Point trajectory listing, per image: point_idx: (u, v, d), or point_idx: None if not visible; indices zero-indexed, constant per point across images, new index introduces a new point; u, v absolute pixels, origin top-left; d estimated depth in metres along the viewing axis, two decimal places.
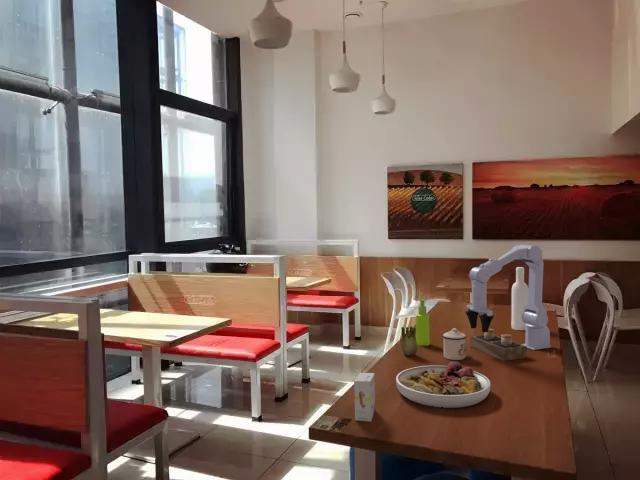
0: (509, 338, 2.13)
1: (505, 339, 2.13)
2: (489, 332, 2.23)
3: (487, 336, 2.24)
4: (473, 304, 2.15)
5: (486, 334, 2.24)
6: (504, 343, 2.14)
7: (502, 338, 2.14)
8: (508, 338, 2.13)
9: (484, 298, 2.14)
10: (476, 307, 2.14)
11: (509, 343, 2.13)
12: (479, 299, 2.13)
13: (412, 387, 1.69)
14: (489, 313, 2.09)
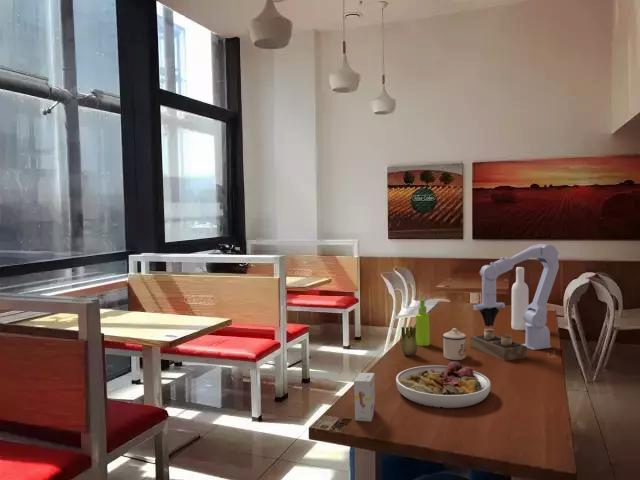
0: (509, 338, 2.13)
1: (505, 339, 2.13)
2: (489, 332, 2.23)
3: (487, 336, 2.24)
4: None
5: (486, 334, 2.24)
6: (504, 343, 2.14)
7: (502, 338, 2.14)
8: (508, 338, 2.13)
9: (484, 294, 2.23)
10: None
11: (509, 343, 2.13)
12: (482, 294, 2.25)
13: (412, 387, 1.69)
14: (473, 307, 2.23)
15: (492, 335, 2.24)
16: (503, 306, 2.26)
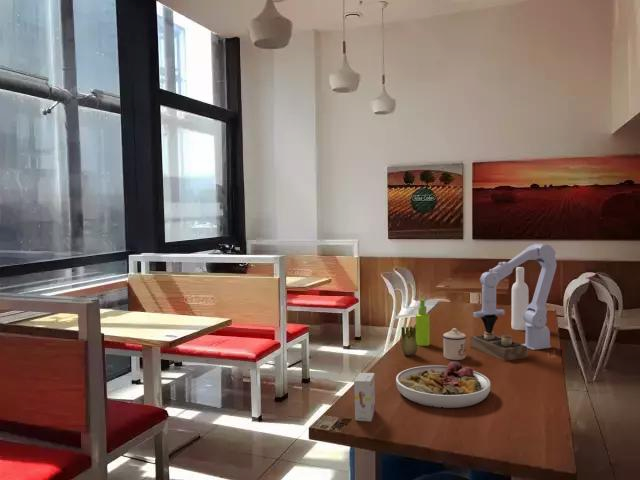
0: (509, 338, 2.13)
1: (505, 339, 2.13)
2: (489, 335, 2.23)
3: None
4: None
5: (486, 337, 2.24)
6: (504, 343, 2.14)
7: (502, 338, 2.14)
8: (508, 338, 2.13)
9: (484, 301, 2.23)
10: None
11: (509, 343, 2.13)
12: (482, 301, 2.25)
13: (412, 387, 1.69)
14: (473, 314, 2.23)
15: None
16: (503, 313, 2.26)
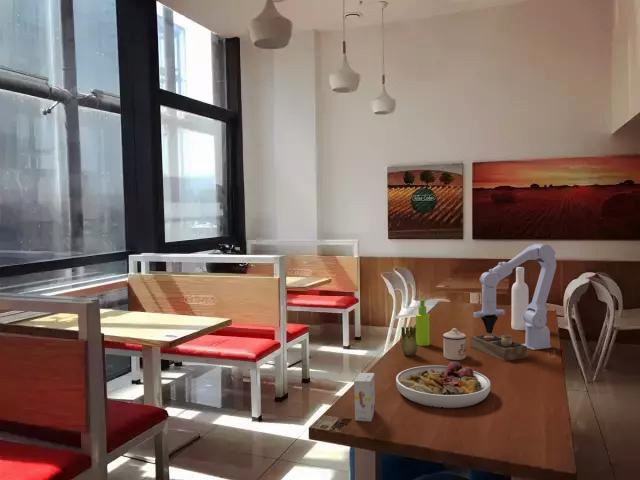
0: (509, 338, 2.13)
1: (505, 339, 2.13)
2: None
3: None
4: None
5: None
6: (504, 343, 2.14)
7: (502, 338, 2.14)
8: (508, 338, 2.13)
9: (484, 302, 2.23)
10: None
11: (509, 343, 2.13)
12: (482, 301, 2.25)
13: (412, 387, 1.69)
14: (473, 314, 2.23)
15: None
16: (503, 313, 2.26)
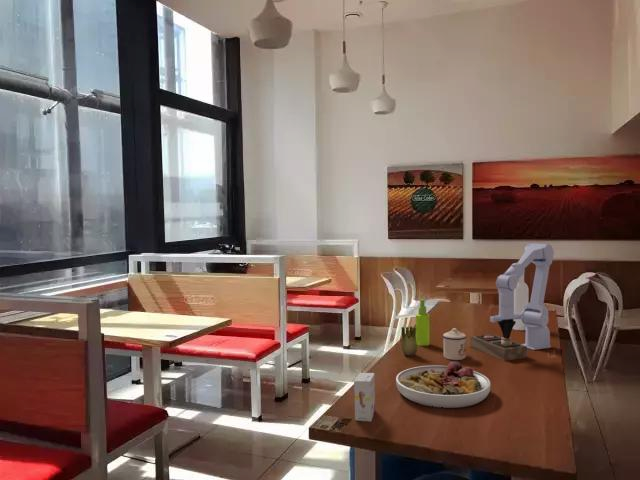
0: (509, 340, 2.13)
1: (505, 341, 2.13)
2: None
3: None
4: None
5: None
6: None
7: (502, 340, 2.14)
8: (508, 340, 2.13)
9: (501, 305, 2.13)
10: None
11: None
12: (499, 305, 2.15)
13: (412, 387, 1.69)
14: (490, 319, 2.12)
15: None
16: (521, 318, 2.16)
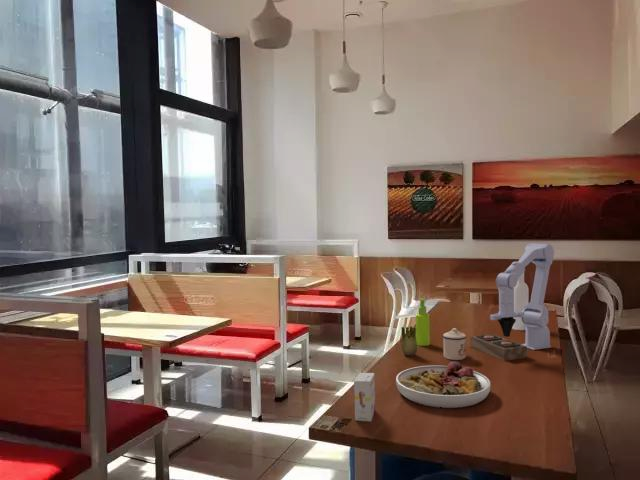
0: None
1: None
2: None
3: None
4: None
5: None
6: None
7: None
8: None
9: (501, 304, 2.13)
10: None
11: None
12: (499, 303, 2.15)
13: (412, 387, 1.69)
14: (490, 317, 2.12)
15: None
16: (521, 316, 2.16)
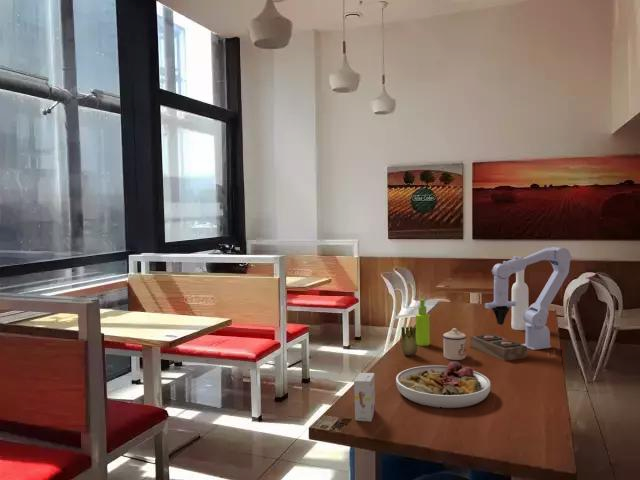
0: None
1: None
2: None
3: None
4: None
5: None
6: None
7: None
8: None
9: (496, 293, 2.23)
10: None
11: None
12: (494, 292, 2.25)
13: (412, 387, 1.69)
14: (485, 305, 2.23)
15: None
16: (514, 305, 2.26)
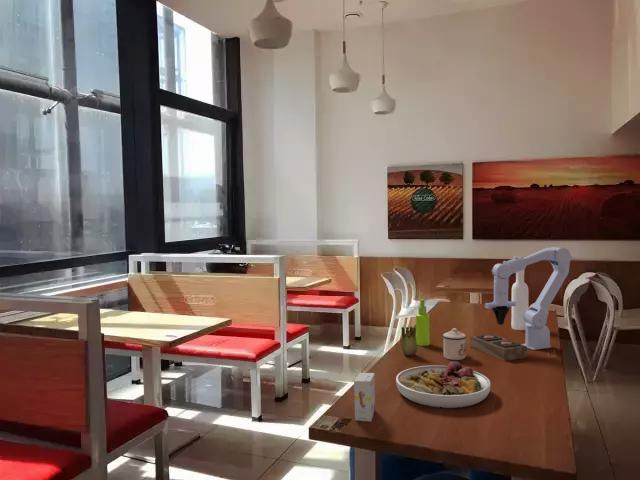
0: None
1: None
2: None
3: None
4: None
5: None
6: None
7: None
8: None
9: (496, 293, 2.23)
10: None
11: None
12: (494, 292, 2.25)
13: (412, 387, 1.69)
14: (485, 305, 2.23)
15: None
16: (514, 305, 2.26)
